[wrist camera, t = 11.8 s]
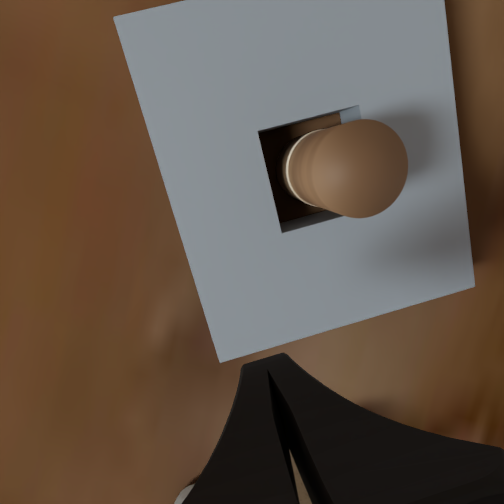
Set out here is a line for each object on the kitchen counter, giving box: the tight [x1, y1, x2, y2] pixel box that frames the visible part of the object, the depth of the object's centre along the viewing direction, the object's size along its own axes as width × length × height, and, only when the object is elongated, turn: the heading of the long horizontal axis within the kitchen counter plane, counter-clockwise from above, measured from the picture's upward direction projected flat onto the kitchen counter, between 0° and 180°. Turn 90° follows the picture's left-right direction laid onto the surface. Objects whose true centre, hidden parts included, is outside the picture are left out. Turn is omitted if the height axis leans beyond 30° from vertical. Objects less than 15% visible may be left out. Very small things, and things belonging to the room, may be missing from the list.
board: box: [113, 0, 475, 363], centre depth 19 cm, size 14×16×2 cm
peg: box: [276, 119, 408, 218], centre depth 17 cm, size 4×4×7 cm
